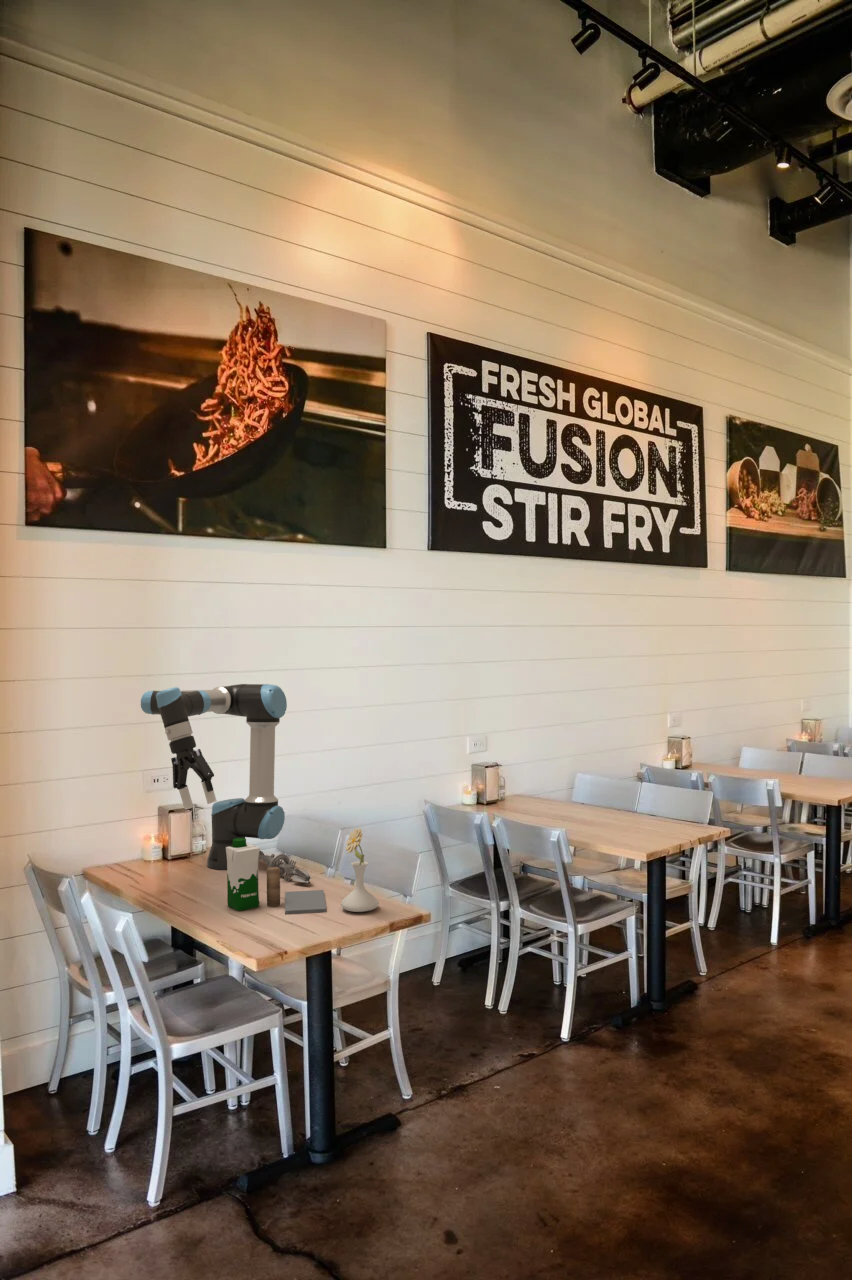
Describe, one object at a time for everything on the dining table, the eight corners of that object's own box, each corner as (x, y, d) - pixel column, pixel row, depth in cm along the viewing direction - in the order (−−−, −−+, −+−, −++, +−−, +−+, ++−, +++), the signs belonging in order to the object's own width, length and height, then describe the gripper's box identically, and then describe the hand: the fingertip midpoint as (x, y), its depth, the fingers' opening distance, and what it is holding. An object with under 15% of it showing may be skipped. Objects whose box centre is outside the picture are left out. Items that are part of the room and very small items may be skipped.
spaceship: (264, 842, 322) (247, 837, 317) (323, 871, 296) (305, 866, 291) (256, 864, 320) (238, 859, 315) (314, 894, 295) (296, 890, 290)
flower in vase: (341, 904, 274) (340, 822, 274) (378, 903, 275) (378, 821, 275) (340, 917, 261) (339, 831, 261) (379, 916, 262) (378, 830, 262)
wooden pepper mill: (267, 903, 275) (266, 867, 275) (280, 902, 276) (279, 866, 276) (266, 907, 272) (266, 870, 271) (280, 906, 272) (279, 870, 272)
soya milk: (249, 900, 279) (248, 835, 279) (263, 907, 272) (263, 840, 272) (223, 905, 273) (222, 840, 273) (237, 912, 266) (236, 845, 266)
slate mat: (285, 894, 284) (285, 891, 284) (323, 892, 286) (323, 889, 286) (285, 914, 264) (285, 910, 264) (326, 912, 266) (326, 908, 266)
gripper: (150, 748, 279) (169, 814, 278) (190, 733, 262) (211, 803, 261) (171, 742, 284) (190, 807, 283) (212, 727, 267) (232, 796, 266)
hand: (200, 805), depth 272 cm, fingers open, 13 cm apart
